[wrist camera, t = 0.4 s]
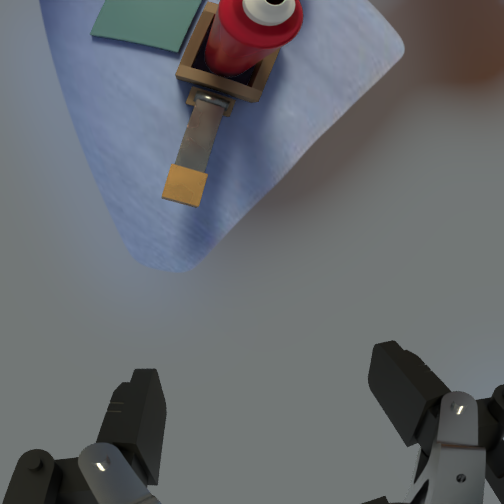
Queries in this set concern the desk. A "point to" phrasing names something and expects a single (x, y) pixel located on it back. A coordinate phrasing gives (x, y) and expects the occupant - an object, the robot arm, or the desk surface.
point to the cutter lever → (195, 151)
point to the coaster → (146, 22)
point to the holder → (216, 82)
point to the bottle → (249, 33)
